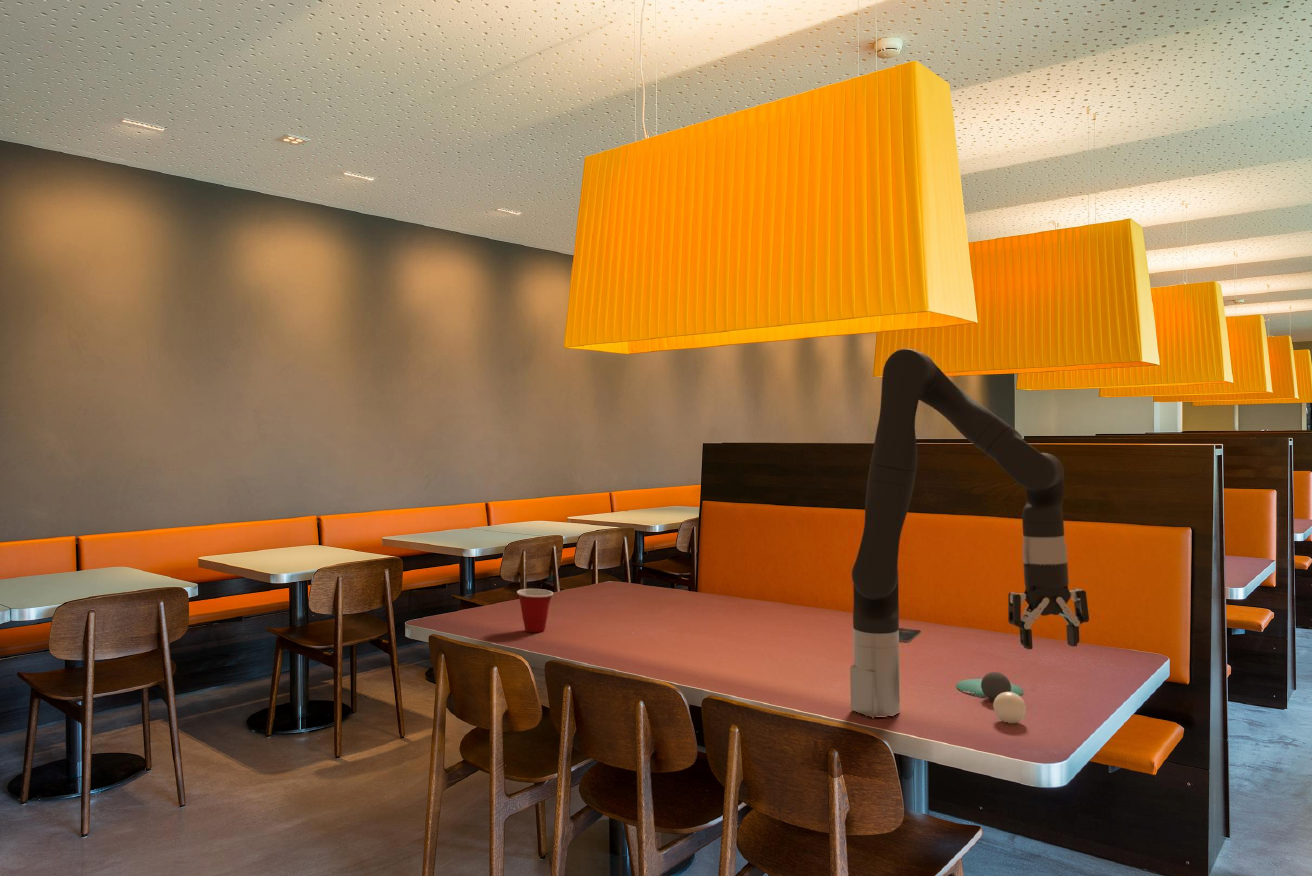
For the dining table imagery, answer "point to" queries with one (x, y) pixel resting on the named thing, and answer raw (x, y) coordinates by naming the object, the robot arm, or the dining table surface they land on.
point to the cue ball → (1009, 707)
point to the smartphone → (907, 634)
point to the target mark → (975, 686)
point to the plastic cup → (534, 608)
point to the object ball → (995, 684)
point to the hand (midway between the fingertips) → (1050, 647)
